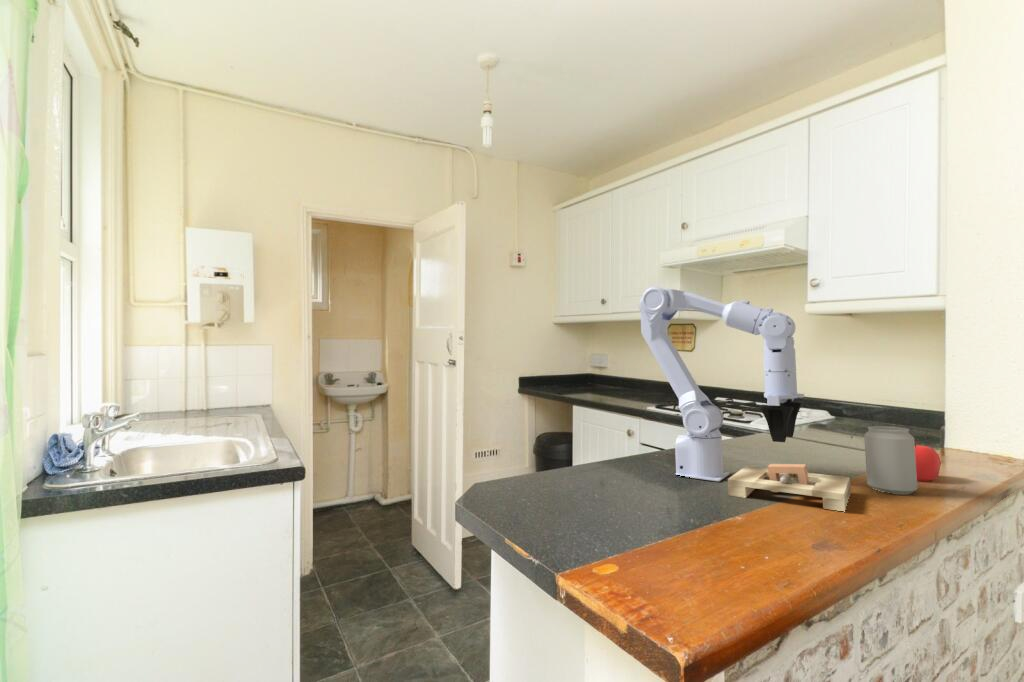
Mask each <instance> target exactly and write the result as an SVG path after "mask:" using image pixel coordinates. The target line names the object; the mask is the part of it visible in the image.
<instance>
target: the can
mask: <svg viewBox="0 0 1024 682" xmlns="http://www.w3.org/2000/svg"><path fill="white" fill-rule="evenodd" d="M867 429H868V431H866V432H865V433H864V435H863V437H864V439H863V440H864V452H865V453H864V455H865V471H866V484H867V485H868V486H869V487H871V488H872V489H873V488H874V489H877V490H880V491H884V492H889V493H892V494H891V495H899V494H900V495H901V496H903V495H904V496H905V495H906V496H907V495H912V494H913V493H914V492H916V491H917V490H918V481H917V474H916V459H915V444H914V440H915V437H914V436H913V435H912V434H910V433H909V431H910V429H909V428H906V427H900V426H888V425H887V426H886V425H885V426H884V425H882V426H881V425H880V426H879V425H877V426H876V425H874V426H868V427H867ZM874 489H873V490H874ZM884 492H883V493H884ZM889 493H888V494H889Z"/></svg>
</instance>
